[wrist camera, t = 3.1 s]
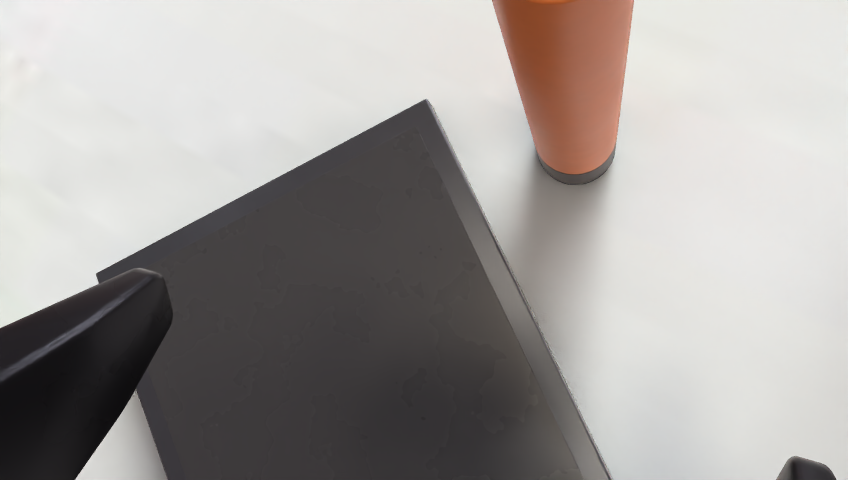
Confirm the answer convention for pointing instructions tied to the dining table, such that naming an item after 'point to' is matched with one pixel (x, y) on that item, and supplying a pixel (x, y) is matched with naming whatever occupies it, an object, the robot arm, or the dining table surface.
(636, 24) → the dining table surface
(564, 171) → the stylus
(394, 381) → the tablet
